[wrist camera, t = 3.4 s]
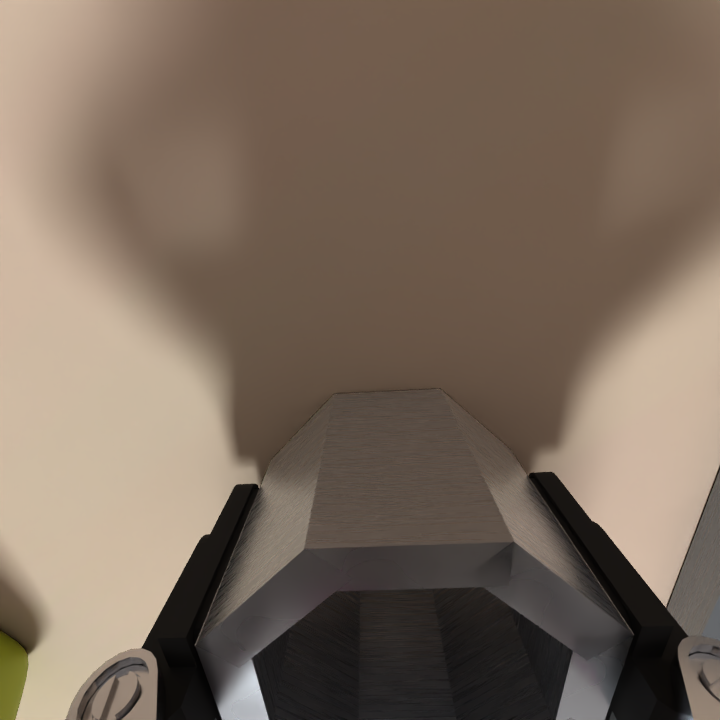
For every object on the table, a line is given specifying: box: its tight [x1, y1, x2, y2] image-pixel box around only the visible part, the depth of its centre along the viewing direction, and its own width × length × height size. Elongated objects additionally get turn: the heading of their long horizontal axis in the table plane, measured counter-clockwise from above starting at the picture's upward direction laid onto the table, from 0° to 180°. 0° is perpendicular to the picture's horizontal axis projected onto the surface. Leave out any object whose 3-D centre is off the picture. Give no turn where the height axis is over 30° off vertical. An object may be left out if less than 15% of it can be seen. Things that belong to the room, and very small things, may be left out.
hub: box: [195, 389, 634, 720], centre depth 8 cm, size 7×7×5 cm
